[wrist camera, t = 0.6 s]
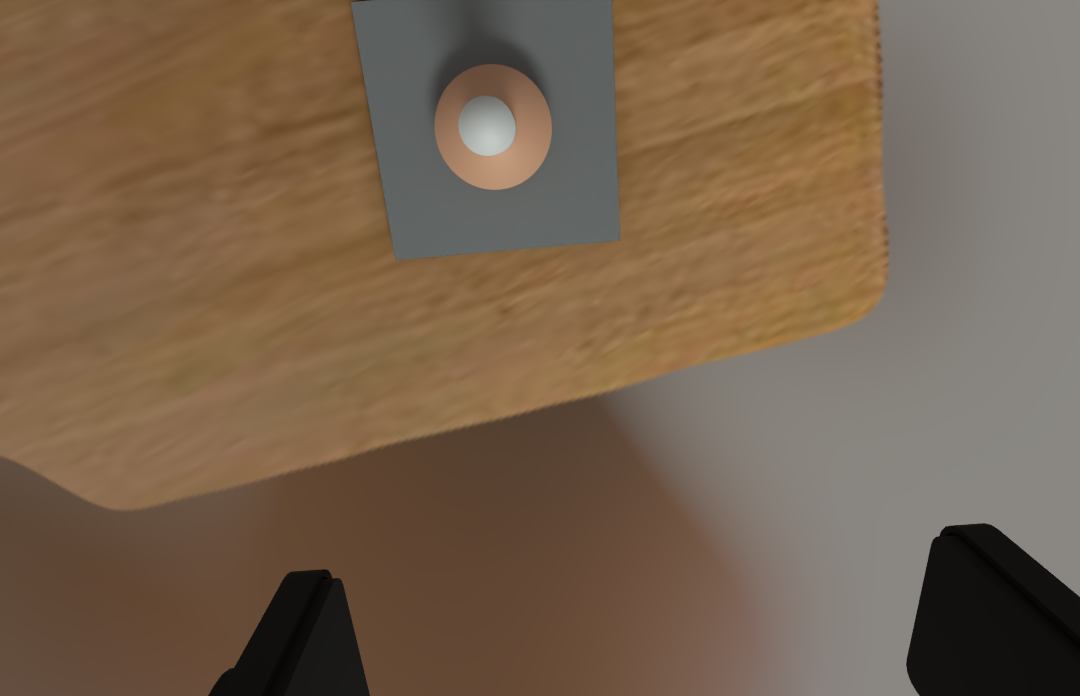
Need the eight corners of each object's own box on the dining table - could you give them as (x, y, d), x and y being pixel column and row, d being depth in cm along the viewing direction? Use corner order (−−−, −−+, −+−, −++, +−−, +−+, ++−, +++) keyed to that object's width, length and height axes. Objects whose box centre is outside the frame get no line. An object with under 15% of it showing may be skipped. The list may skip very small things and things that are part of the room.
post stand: (359, 8, 30) (301, -37, 22) (606, -15, 29) (633, -68, 22) (400, 255, 34) (364, 287, 26) (616, 236, 34) (641, 263, 26)
